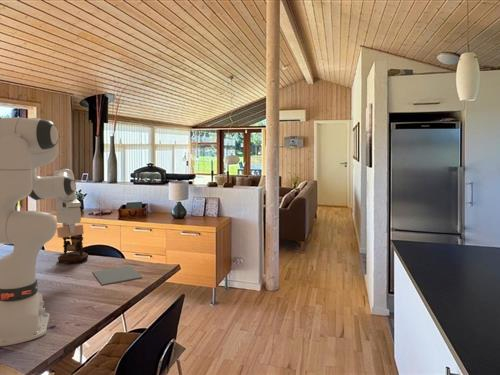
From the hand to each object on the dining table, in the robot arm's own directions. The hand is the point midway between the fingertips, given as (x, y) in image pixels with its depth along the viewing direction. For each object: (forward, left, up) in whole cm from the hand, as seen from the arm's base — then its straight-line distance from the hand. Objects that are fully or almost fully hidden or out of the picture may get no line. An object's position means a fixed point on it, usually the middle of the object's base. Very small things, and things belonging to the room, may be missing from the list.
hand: (69, 232), depth 168 cm
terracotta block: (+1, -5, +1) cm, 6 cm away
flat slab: (-11, -19, -21) cm, 30 cm away
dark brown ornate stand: (+26, -5, -21) cm, 34 cm away
